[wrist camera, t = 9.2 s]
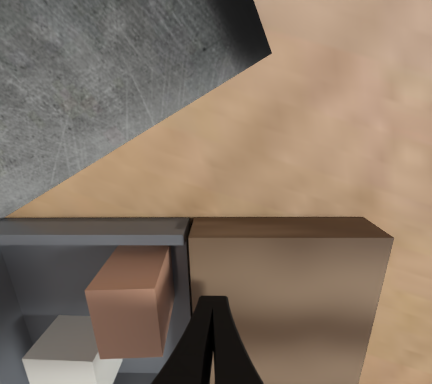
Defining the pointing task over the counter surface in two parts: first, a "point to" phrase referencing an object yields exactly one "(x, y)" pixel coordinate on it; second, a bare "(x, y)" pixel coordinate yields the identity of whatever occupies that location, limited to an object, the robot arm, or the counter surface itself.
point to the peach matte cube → (132, 302)
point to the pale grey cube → (69, 355)
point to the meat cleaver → (106, 77)
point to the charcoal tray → (78, 281)
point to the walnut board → (294, 290)
